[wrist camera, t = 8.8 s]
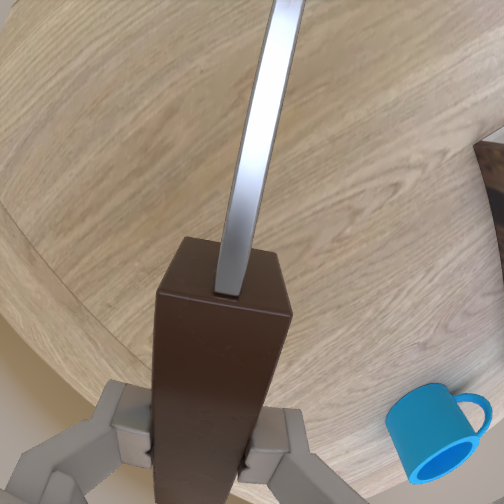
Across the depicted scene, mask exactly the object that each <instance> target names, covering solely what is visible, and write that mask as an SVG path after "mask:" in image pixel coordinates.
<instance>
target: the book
mask: <svg viewBox="0 0 504 504" xmlns="http://www.w3.org/2000/svg"><path fill="white" fill-rule="evenodd" d="M473 147H474V150H475V153H476V156H477V159H478V162H479V165H480V169H481V172H482V175H483V179H484V182H485V186H486V190H487V194H488V198H489V202H490V206H491V210H492V215H493V219H494V224H495V229H496V234H497V239H498V245H499V251H500V257H501V264H502V272H503V280H504V126H503V127H502V128H500V129H499V130H497V131H495V132H494V133H492V134H491V135H489V136H488V137H486V138H484V139H483V140H481V141H480V142H478V143H476V144H475V145H473Z"/></svg>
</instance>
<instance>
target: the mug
mask: <svg viewBox="0 0 504 504" xmlns="http://www.w3.org/2000/svg"><path fill="white" fill-rule="evenodd" d="M463 401H464V402H473V403H476V404H478V405H479V406H481V407H482V408H483V410H484V412H485V421H484V423H483V425H482V427H481V428H480V429H479V430H478V432H477V433H475V431H474V430H473V428H472V426H471V425H470V423H469V421H468V420H467V418H466V417H465V415H464V414H463V412H462V410H461V409H460V407H459V406H458V404H457V402H463ZM491 420H492V407H491V405H490V403H489V401H487V400H486V399H485V398H484V397H483V396H480V395H477V394H470V393H464V394H458V395H454V396H452V395H451V394H450V392H449V391H448V389H447V388H446V386H445V385H442V384H439V383H435V384H428V385H425V386H422V387H419V388H417V389H415V390H414V391H412V392H410V393H408V394H407V395H406V396H404V397H403V398H402V399H400V400H399V401H398V402H397V403H396V404H395V405H394V406H393V407H392V409H391V410H390V412H389V413H388V415H387V418H386V422H385V423H386V426H387V429H388V431H389V433H390V436H391V438H392V441H393V443H394V445H395V448H396V450H397V453H398V455H399V457H400V460H401V462H402V465H403V467H404V470H405V472H406V475H407V477H408V480H409V482H410V483H412V484H423V483H427V482H431V481H433V480H435V479H438V478H440V477H442V476H444V475H446V474H448V473H449V472H451V471H452V470H454V469H455V468H457V467H458V466H460V465H461V464H462V463H463V462H464V461H466V460H467V459H468V458H469V457H470V456H471V454H472V453H473V452H474V451H475V449H476V448H477V446H478V445H479V440H480V439H479V438H480V437H481V436H482V435H483V434H484V433H485V432H486V430H487V429H488V427H489V425H490V423H491Z"/></svg>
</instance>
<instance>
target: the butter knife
mask: <svg viewBox="0 0 504 504" xmlns="http://www.w3.org/2000/svg"><path fill="white" fill-rule="evenodd" d="M305 2H306V0H273V3H272V7H271V11H270V15H269V19H268V23H267V27H266V31H265V36H264V40H263V44H262V48H261V52H260V57H259V61H258V65H257V70H256V74H255V78H254V83H253V87H252V92H251V96H250V101H249V105H248V110H247V115H246V119H245V124H244V129H243V133H242V138H241V143H240V148H239V152H238V157H237V162H236V167H235V172H234V177H233V182H232V187H231V192H230V197H229V202H228V208H227V213H226V218H225V223H224V229H223V234H222V239H221V243H220V242H215V241H209V240H204V239H198V238H193V237H184V239H183V241H182V242H181V244H180V246H179V248H178V250H177V252H176V254H175V256H174V258H173V259H172V261H171V263H170V265H169V267H168V269H167V271H166V273H165V275H164V277H163V279H162V281H161V283H160V285H159V287H158V289H157V291H156V300H155V314H154V330H153V351H152V387H151V420H152V423H153V439H152V446H153V482H154V496H155V503H157V504H225V502H226V500H227V497H228V495H229V493H230V490H231V488H232V485H233V483H234V480H235V478H236V475H237V473H238V468H239V466H240V463H241V460H242V459H243V457H244V455H245V449H246V447H247V444H248V442H249V439H250V437H251V436H252V434H253V431H254V428H255V426H256V423H257V420H258V418H259V415H260V412H261V409H262V406H263V404H264V401H265V398H266V395H267V392H268V389H269V387H270V384H271V381H272V378H273V375H274V372H275V369H276V366H277V363H278V360H279V357H280V354H281V351H282V348H283V345H284V342H285V339H286V336H287V333H288V329H289V326H290V323H291V320H292V317H293V313H292V309H291V305H290V301H289V297H288V294H287V290H286V286H285V283H284V279H283V275H282V271H281V268H280V264H279V261H278V257H277V254H276V253H274V252H269V251H263V250H258V249H253V248H251V247H252V242H253V238H254V233H255V228H256V224H257V219H258V215H259V210H260V206H261V201H262V197H263V192H264V187H265V183H266V178H267V174H268V169H269V165H270V160H271V156H272V151H273V147H274V142H275V137H276V133H277V128H278V124H279V119H280V115H281V110H282V106H283V101H284V97H285V92H286V88H287V83H288V79H289V74H290V70H291V65H292V61H293V56H294V52H295V47H296V42H297V38H298V33H299V29H300V24H301V20H302V15H303V11H304V6H305Z"/></svg>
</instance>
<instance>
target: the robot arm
mask: <svg viewBox="0 0 504 504" xmlns="http://www.w3.org/2000/svg"><path fill="white" fill-rule="evenodd" d="M152 439H153V423H152V420H151V389H147V388H143V387H139V386H135V385H132V384H128V383H123V382H120V381H116V380H112V379H110V380H109V381H108V382H107V383H106V385H105V388H104V390H103V392H102V394H101V396H100V399H99V401H98V403H97V405H96V408H95V410H94V412H93V415H92V417H91V419H90V420H88V419H84V420H82V421H80V422H79V423H77V424H75V425H74V426H72V427H70V428H68V429H66V430H65V431H63V432H61V433H59V434H57V435H56V436H54V437H52V438H50V439H48V440H46V441H45V442H43V443H41V444H39V445H37V446H35V447H33V448H32V449H30V450H28V451H26V452H24V453H22V455H21V457H20V459H19V461H18V463H17V465H16V467H15V469H14V471H13V473H12V475H11V477H10V480H9V482H8V484H7V486H6V488H5V490H2V489H0V504H88V502H87V501H86V499H85V497H84V496H85V495H86V494H87V493H88V492H89V491H91V490H92V489H93V488H94V487H95V486H97V485H98V484H99V483H100V482H102V481H103V480H104V479H105V478H106V477H108V476H109V475H110V474H111V473H113V472H114V471H115V470H116V469H117V468H118V467H120V466H121V465H122V463H124V464H128V465H133V466H137V467H142V468H147V469H151V468H152V463H153V446H152ZM238 482H242V483H253V484H268V485H267V486H268V488H269V489H270V491H271V492H272V493H273V495H274V496H275V497H276V499H277V500H278V501H279V503H280V504H369V503H368V502H367V501H366V500H365V499H364V498H363V497H361V496H360V495H359V494H358V493H357V492H356V491H355V490H354V489H352V488H351V487H350V486H349V485H348V484H347V483H346V482H345V481H344V480H343V479H341V478H340V477H339V476H338V475H337V474H336V473H335V472H334V471H333V470H332V469H331V468H330V467H329V466H328V465H327V464H326V463H325V462H323V461H322V460H321V459H320V458H319V457H318V456H317V455H316V454H313V453H310V450H309V445H308V440H307V435H306V430H305V425H304V420H303V415H302V411H301V410H300V409H289V408H276V407H263V406H262V409H261V412H260V415H259V418H258V420H257V423H256V426H255V428H254V431H253V434H252V436H251V437H250V439H249V442H248V444H247V447H246V449H245V455H244V457H243V459H242V460H241V463H240V466H239V468H238ZM490 504H504V497H502V498H500V499H498V500H496V501H494V502H492V503H490Z"/></svg>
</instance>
